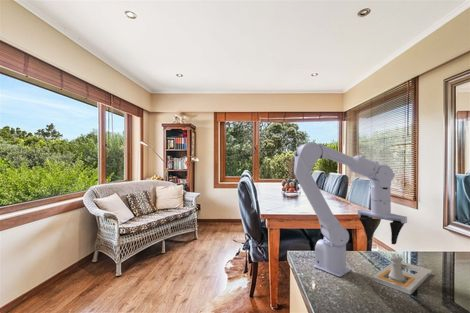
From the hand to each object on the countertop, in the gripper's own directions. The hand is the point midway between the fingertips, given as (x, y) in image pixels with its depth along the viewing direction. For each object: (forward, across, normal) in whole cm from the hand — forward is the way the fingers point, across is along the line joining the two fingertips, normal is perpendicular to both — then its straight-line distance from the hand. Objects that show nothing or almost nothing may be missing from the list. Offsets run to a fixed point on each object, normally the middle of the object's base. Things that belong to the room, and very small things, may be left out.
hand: (381, 240), depth 81 cm
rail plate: (+10, -6, 0) cm, 12 cm away
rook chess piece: (+10, -6, +5) cm, 13 cm away
